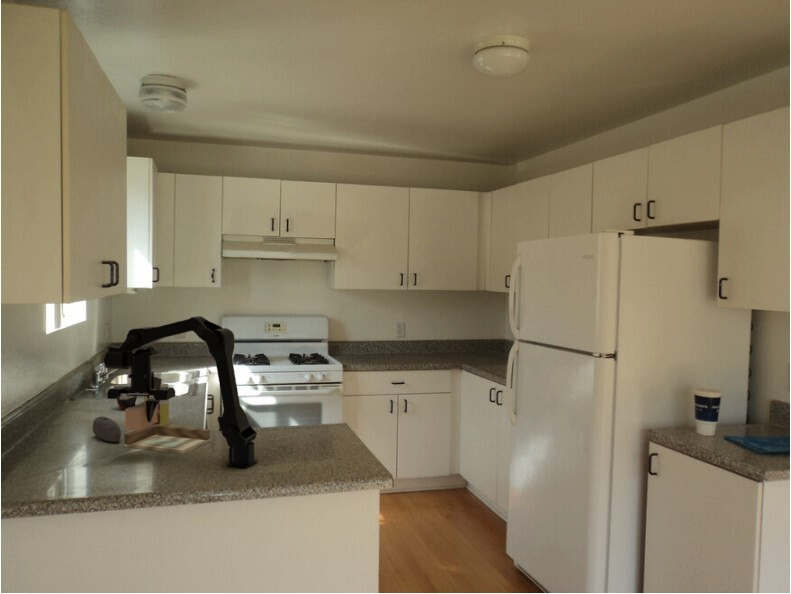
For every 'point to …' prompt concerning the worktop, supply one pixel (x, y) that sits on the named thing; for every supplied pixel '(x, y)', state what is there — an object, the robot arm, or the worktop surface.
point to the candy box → (161, 409)
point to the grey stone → (106, 429)
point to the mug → (119, 396)
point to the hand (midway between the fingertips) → (141, 421)
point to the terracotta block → (138, 417)
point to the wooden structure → (167, 438)
